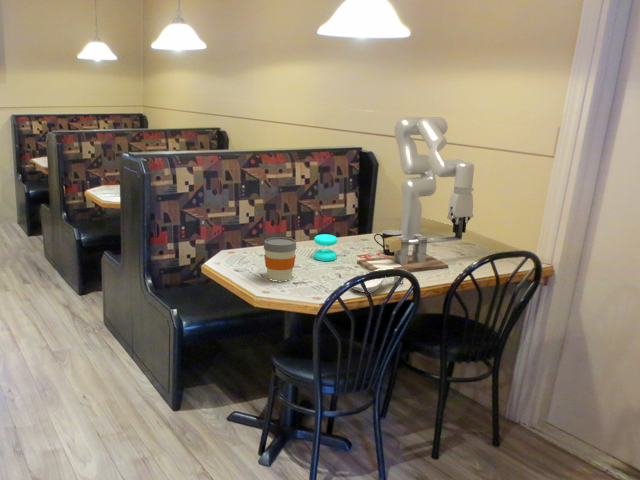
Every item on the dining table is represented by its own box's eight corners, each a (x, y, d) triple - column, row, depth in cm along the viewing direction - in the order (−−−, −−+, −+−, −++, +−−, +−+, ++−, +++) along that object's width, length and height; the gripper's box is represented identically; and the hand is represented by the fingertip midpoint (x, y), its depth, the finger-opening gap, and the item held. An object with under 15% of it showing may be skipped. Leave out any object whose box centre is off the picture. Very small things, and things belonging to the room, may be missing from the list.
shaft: (396, 244, 248) (398, 221, 245) (458, 239, 261) (460, 217, 258) (400, 246, 245) (401, 223, 243) (463, 240, 258) (465, 218, 255)
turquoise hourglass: (310, 235, 256) (329, 232, 261) (309, 257, 258) (328, 254, 263) (321, 240, 248) (341, 237, 253) (321, 263, 250) (340, 260, 255)
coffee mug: (403, 254, 268) (405, 232, 265) (392, 257, 261) (394, 235, 259) (383, 248, 275) (384, 228, 273) (371, 252, 269) (373, 230, 266)
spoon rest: (363, 298, 211) (364, 279, 209) (342, 289, 220) (343, 271, 218) (409, 286, 225) (411, 268, 223) (388, 278, 234) (389, 261, 232)
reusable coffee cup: (301, 280, 227) (302, 243, 223) (273, 285, 221) (273, 247, 217) (285, 271, 237) (286, 235, 233) (257, 276, 231) (257, 239, 227)
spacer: (384, 249, 247) (384, 238, 246) (395, 246, 249) (394, 236, 248) (391, 252, 243) (390, 241, 241) (401, 249, 245) (400, 239, 243)
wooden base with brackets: (357, 263, 251) (358, 235, 248) (424, 256, 265) (426, 229, 261) (377, 276, 235) (379, 246, 232) (448, 268, 249) (450, 239, 246)
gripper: (472, 188, 260) (468, 229, 264) (441, 190, 253) (438, 231, 258) (483, 191, 253) (479, 233, 258) (452, 193, 247) (448, 235, 251)
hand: (458, 232), depth 258 cm, fingers closed on shaft, 3 cm apart
